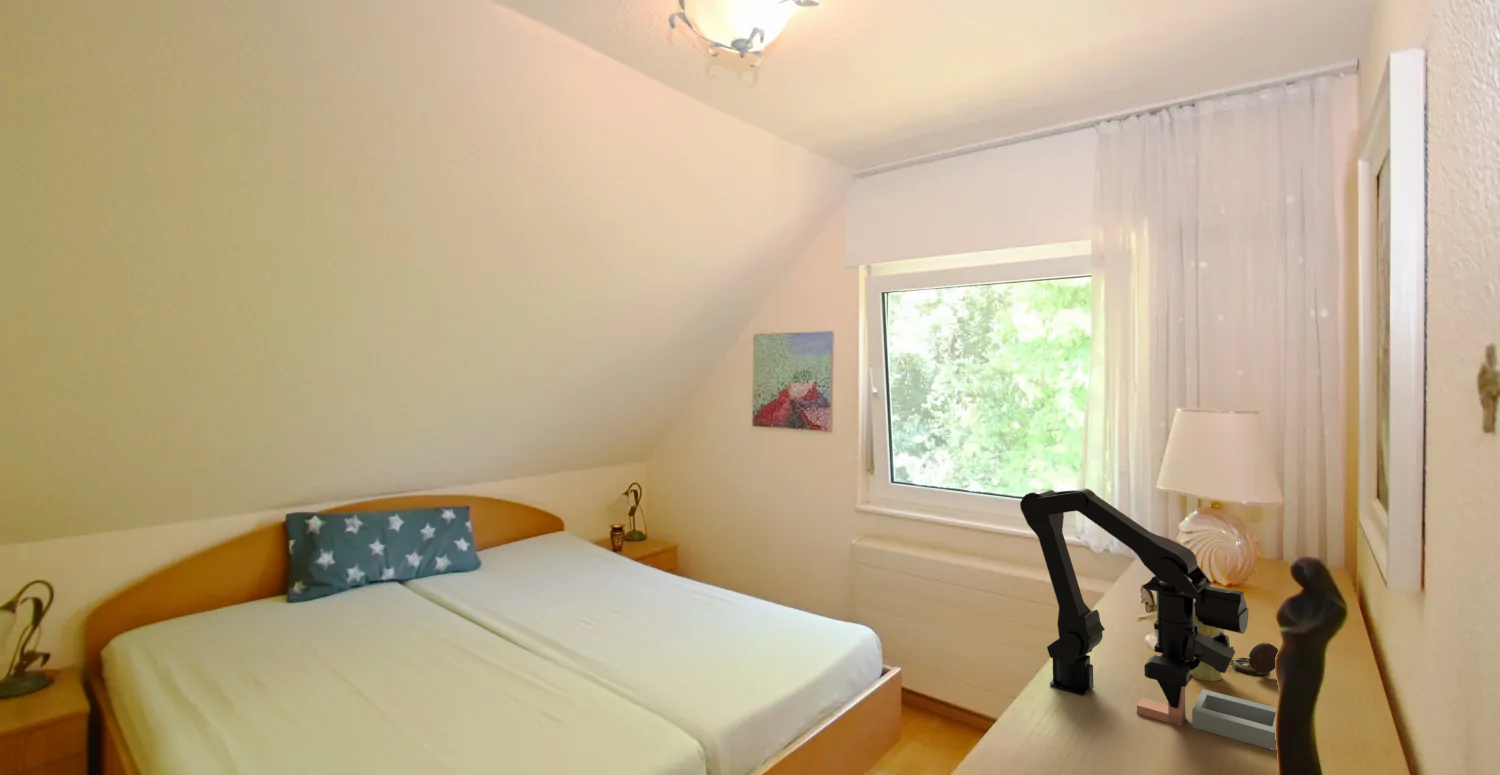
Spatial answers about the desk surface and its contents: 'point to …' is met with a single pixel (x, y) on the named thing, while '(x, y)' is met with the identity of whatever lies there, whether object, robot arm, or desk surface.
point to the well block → (1235, 718)
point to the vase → (1203, 669)
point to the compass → (1257, 660)
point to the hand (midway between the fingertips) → (1176, 703)
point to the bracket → (1163, 710)
